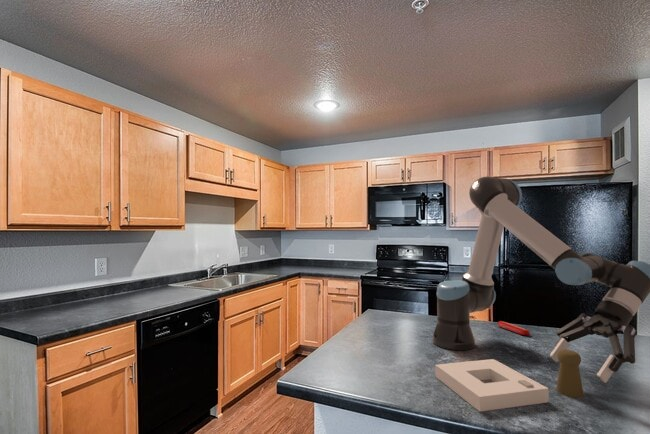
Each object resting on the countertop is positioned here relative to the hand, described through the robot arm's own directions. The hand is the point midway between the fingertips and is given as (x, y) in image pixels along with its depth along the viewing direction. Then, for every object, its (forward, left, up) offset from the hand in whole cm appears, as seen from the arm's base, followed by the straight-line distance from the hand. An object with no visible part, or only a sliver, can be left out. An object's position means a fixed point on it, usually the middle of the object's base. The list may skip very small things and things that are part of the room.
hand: (575, 368), depth 92 cm
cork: (-1, 0, -7) cm, 7 cm away
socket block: (-17, -14, -7) cm, 23 cm away
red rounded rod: (-32, +48, -7) cm, 58 cm away
